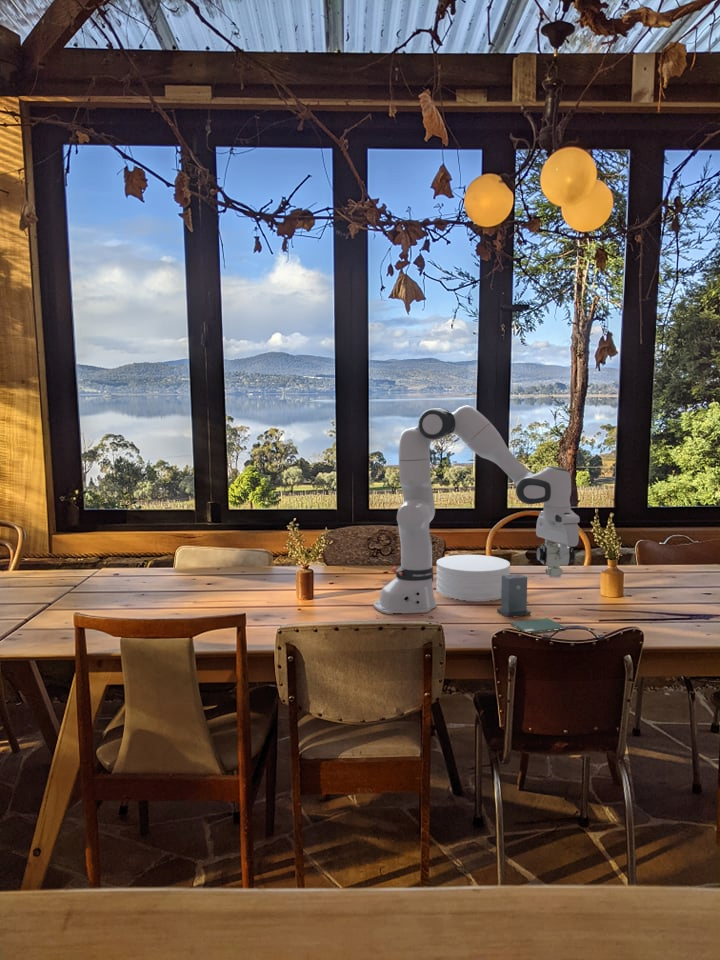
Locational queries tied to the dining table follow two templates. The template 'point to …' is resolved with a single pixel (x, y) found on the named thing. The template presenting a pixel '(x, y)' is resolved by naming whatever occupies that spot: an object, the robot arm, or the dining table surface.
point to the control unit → (514, 596)
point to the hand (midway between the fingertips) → (555, 554)
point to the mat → (537, 625)
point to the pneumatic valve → (554, 558)
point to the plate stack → (471, 577)
